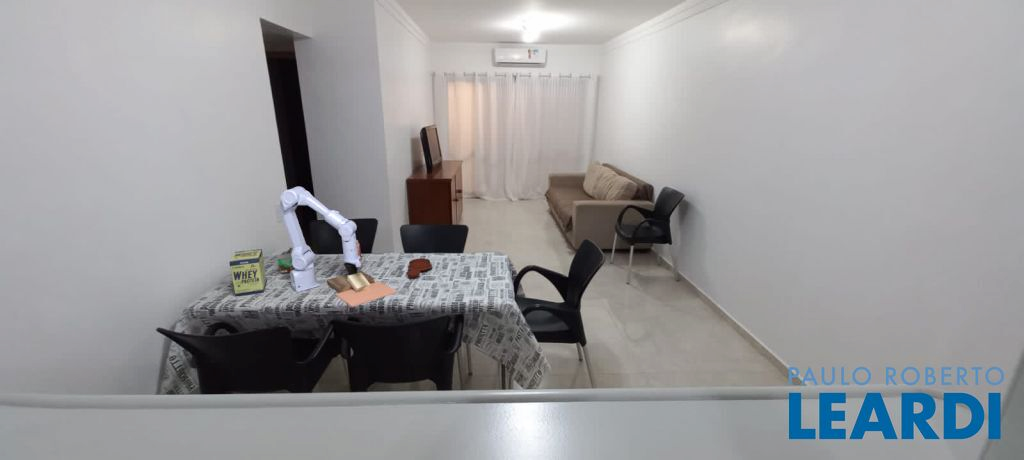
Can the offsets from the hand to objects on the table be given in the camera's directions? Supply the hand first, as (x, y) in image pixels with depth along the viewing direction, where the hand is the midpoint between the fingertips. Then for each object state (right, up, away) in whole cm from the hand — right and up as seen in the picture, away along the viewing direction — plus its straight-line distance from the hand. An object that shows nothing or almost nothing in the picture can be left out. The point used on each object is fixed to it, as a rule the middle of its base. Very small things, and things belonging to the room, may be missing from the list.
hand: (353, 278), depth 183 cm
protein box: (-44, -5, -2) cm, 44 cm away
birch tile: (+3, -2, -3) cm, 5 cm away
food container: (-37, +1, +19) cm, 42 cm away
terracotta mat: (+9, -6, -7) cm, 13 cm away
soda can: (-11, +4, +29) cm, 31 cm away
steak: (+25, 0, +16) cm, 30 cm away
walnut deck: (-2, -3, +3) cm, 5 cm away
